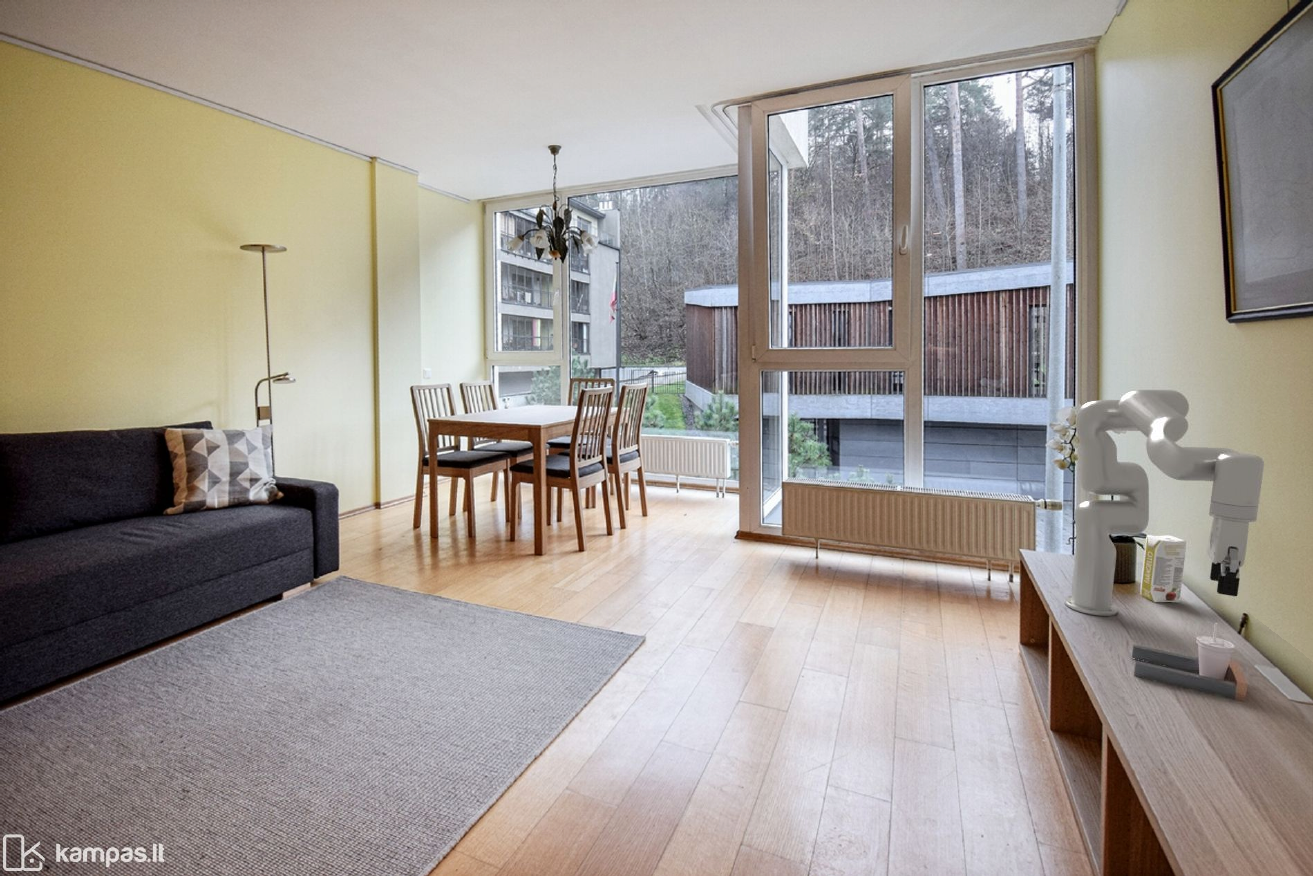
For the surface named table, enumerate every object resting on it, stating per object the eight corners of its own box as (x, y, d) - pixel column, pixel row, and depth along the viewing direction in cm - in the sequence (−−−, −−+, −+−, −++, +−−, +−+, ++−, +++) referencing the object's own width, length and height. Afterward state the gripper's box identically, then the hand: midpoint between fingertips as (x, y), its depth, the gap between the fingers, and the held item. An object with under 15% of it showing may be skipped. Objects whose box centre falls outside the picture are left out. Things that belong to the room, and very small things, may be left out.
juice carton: (1184, 604, 184) (1191, 541, 182) (1154, 604, 184) (1161, 541, 182) (1163, 594, 192) (1170, 534, 189) (1135, 594, 192) (1141, 534, 189)
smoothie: (1184, 678, 141) (1192, 619, 139) (1202, 673, 144) (1210, 615, 142) (1218, 692, 135) (1226, 631, 134) (1236, 687, 138) (1244, 626, 136)
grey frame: (1131, 656, 152) (1133, 640, 151) (1234, 678, 141) (1237, 662, 141) (1134, 676, 142) (1136, 659, 142) (1245, 701, 132) (1247, 684, 131)
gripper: (1204, 501, 143) (1195, 573, 146) (1216, 516, 129) (1206, 596, 132) (1248, 505, 139) (1238, 579, 141) (1266, 522, 125) (1254, 604, 127)
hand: (1223, 587), depth 136 cm, fingers open, 9 cm apart
